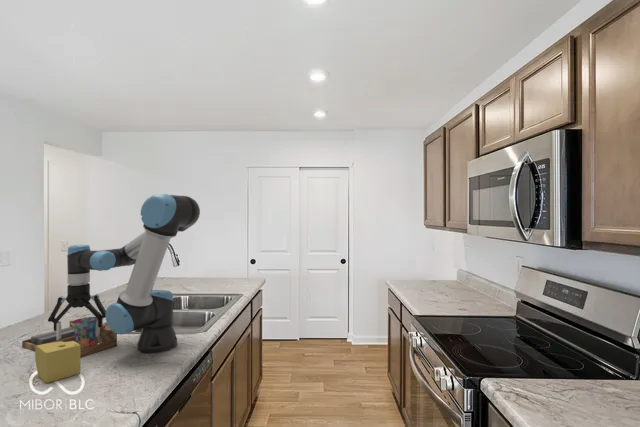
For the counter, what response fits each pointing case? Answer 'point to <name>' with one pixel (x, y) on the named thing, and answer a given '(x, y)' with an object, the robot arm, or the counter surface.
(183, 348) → the counter surface
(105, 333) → the rack
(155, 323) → the robot arm
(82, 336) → the mug
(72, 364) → the cheese
